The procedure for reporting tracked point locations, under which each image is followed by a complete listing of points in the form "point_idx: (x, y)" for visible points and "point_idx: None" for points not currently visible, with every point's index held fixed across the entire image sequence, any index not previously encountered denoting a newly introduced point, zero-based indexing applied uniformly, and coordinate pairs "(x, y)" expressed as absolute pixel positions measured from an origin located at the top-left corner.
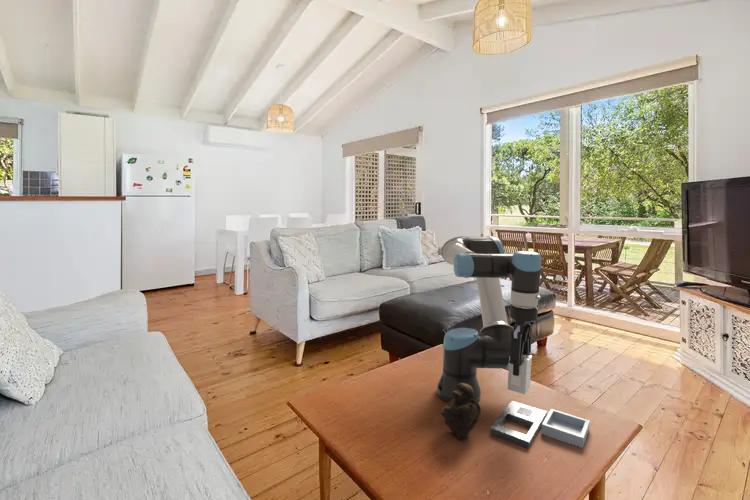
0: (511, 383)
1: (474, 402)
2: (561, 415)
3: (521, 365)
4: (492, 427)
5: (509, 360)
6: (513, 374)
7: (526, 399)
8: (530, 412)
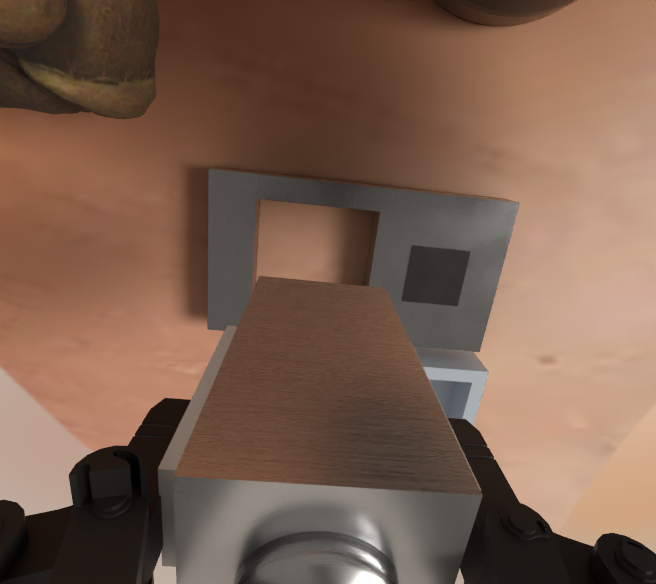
0: (226, 331)
1: (28, 74)
2: (461, 404)
3: (164, 559)
4: (217, 177)
5: (191, 434)
6: (159, 407)
7: (596, 246)
8: (435, 298)
